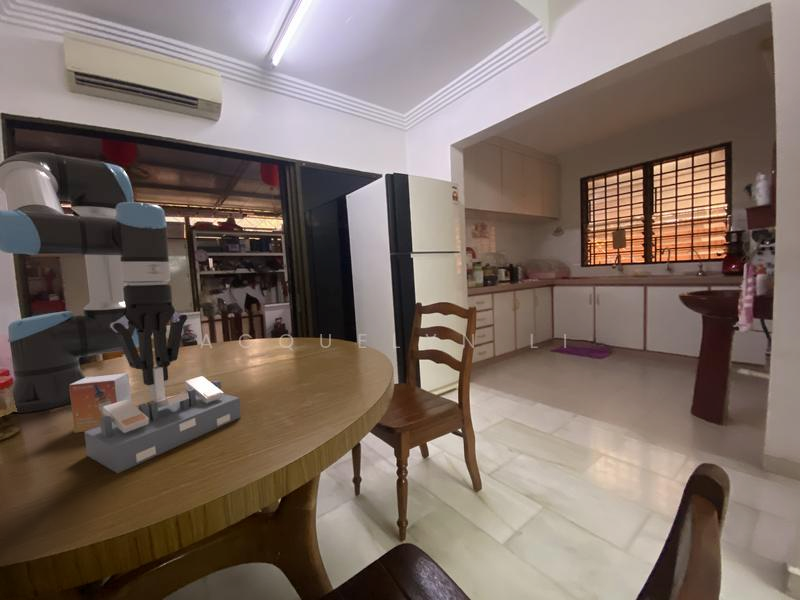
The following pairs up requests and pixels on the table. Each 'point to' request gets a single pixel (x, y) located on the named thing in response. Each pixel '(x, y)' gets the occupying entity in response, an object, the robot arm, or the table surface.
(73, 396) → the small box
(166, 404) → the rocker
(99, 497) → the table surface
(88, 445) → the console
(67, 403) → the robot arm
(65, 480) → the table surface
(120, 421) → the rocker
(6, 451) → the table surface
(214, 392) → the rocker
